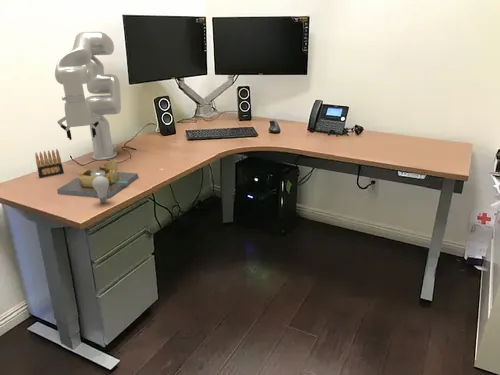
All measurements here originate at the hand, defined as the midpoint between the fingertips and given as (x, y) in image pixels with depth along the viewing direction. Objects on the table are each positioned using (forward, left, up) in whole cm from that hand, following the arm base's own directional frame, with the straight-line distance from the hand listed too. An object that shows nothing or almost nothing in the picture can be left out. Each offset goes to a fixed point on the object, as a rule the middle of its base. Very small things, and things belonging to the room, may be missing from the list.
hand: (82, 138), depth 184 cm
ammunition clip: (-1, -21, -19) cm, 28 cm away
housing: (+6, +9, -19) cm, 22 cm away
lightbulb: (+22, +21, -19) cm, 36 cm away
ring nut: (+4, +9, -17) cm, 19 cm away
